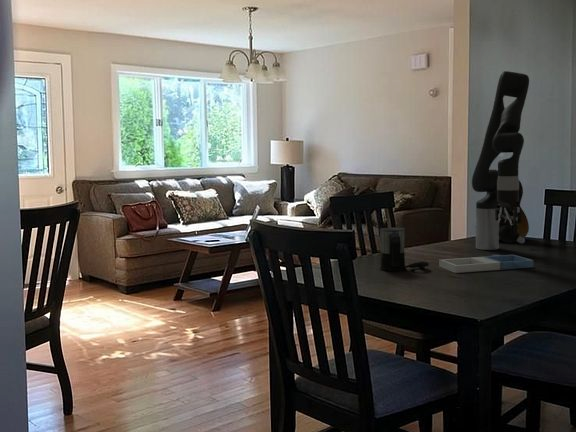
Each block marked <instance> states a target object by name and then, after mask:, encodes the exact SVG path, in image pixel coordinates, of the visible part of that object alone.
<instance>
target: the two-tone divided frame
mask: <svg viewBox="0 0 576 432" xmlns="http://www.w3.org/2000/svg"><path fill="white" fill-rule="evenodd" d="M438 262H439V263H438V266H439V268H442V269H445V270H447V271H449V272H452V273H455V274H458V273H472V272H474V273H475V272H484V271H485V272H486V271H488V272H489V271H499V270H500V271H501V270H502V271H503V270H511V269H512V270H514V269H527V268H534V260H533V259H531V258H526V257H524V256H523V257H522V256H520V255H518V254H517V255H516V254H506V255H501V254H491V256H490V255H489V256H488V255H487V256H475V257H473V256H472V257H462V258H459V257H458V258H447V259H446V258H445V259H443V258H442V259H438Z"/></svg>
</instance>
